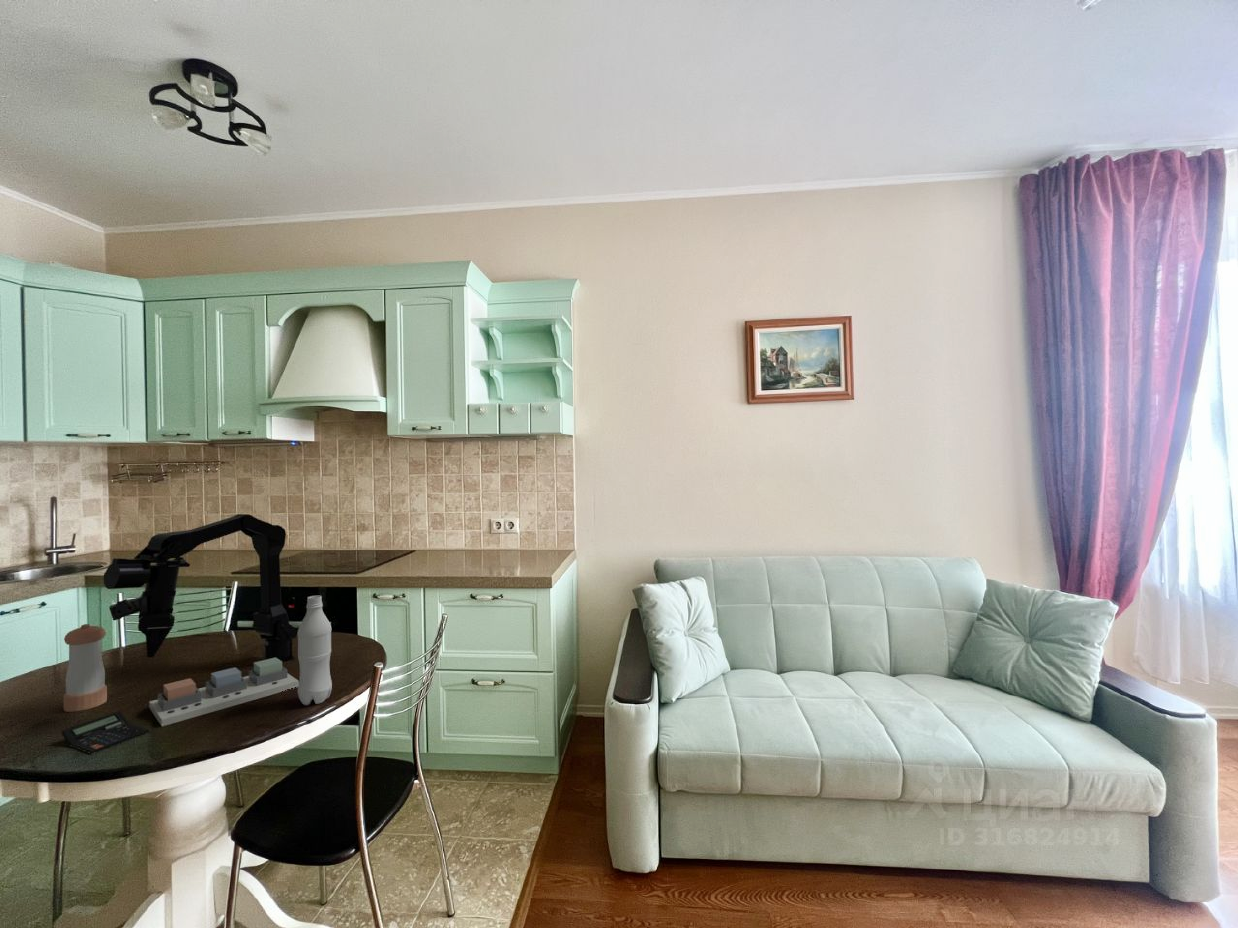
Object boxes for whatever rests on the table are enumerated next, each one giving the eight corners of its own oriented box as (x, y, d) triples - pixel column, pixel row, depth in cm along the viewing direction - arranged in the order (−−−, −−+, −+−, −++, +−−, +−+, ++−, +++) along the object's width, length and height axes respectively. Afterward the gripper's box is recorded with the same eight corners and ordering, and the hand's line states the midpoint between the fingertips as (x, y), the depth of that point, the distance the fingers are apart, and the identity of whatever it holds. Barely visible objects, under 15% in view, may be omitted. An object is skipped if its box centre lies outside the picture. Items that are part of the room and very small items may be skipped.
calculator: (91, 755, 105) (91, 740, 105) (61, 744, 110) (61, 729, 110) (148, 733, 114) (148, 719, 114) (118, 723, 118) (118, 710, 118)
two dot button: (235, 677, 135) (235, 667, 135) (241, 682, 132) (241, 672, 132) (211, 683, 131) (210, 673, 131) (216, 688, 128) (216, 678, 128)
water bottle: (338, 696, 131) (338, 594, 131) (313, 709, 124) (312, 601, 124) (316, 692, 133) (316, 592, 133) (290, 704, 126) (289, 599, 126)
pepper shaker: (73, 701, 129) (73, 622, 129) (112, 696, 132) (112, 618, 132) (56, 714, 122) (56, 630, 122) (97, 708, 125) (97, 626, 125)
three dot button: (190, 688, 128) (190, 678, 128) (195, 694, 125) (195, 683, 125) (163, 695, 125) (163, 684, 125) (168, 701, 121) (168, 690, 121)
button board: (279, 673, 146) (279, 660, 146) (298, 686, 137) (298, 672, 137) (149, 707, 125) (149, 692, 125) (161, 726, 116) (161, 709, 116)
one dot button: (275, 666, 142) (275, 657, 142) (282, 671, 139) (282, 661, 139) (253, 672, 138) (253, 662, 138) (260, 677, 135) (259, 667, 135)
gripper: (117, 583, 131) (105, 649, 128) (114, 591, 117) (101, 665, 115) (175, 582, 138) (165, 644, 136) (179, 589, 124) (168, 659, 122)
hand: (150, 653), depth 127 cm, fingers open, 9 cm apart
